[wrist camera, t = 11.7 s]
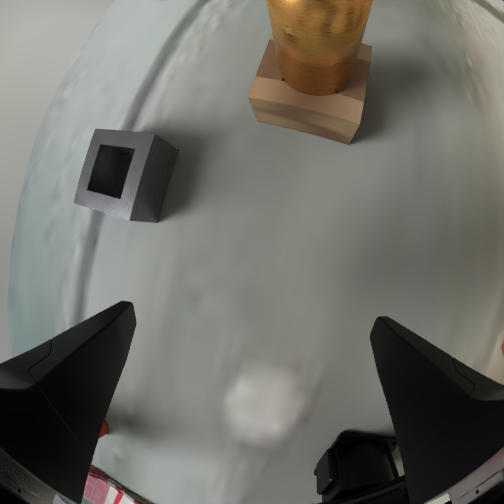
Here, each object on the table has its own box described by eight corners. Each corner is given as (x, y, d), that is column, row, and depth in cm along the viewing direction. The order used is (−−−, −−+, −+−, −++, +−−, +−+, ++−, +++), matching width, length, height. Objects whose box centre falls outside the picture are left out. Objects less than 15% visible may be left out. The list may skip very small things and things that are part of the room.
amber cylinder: (356, 93, 17) (400, -35, 4) (317, 130, 18) (335, -8, 5) (308, 59, 17) (306, -72, 5) (268, 92, 18) (230, -44, 5)
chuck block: (178, 150, 20) (154, 134, 16) (157, 222, 21) (129, 220, 17) (122, 142, 21) (95, 128, 17) (104, 206, 21) (73, 202, 17)
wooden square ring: (362, 73, 17) (371, 46, 13) (348, 144, 18) (359, 124, 14) (279, 54, 18) (275, 25, 14) (257, 121, 19) (248, 97, 15)
